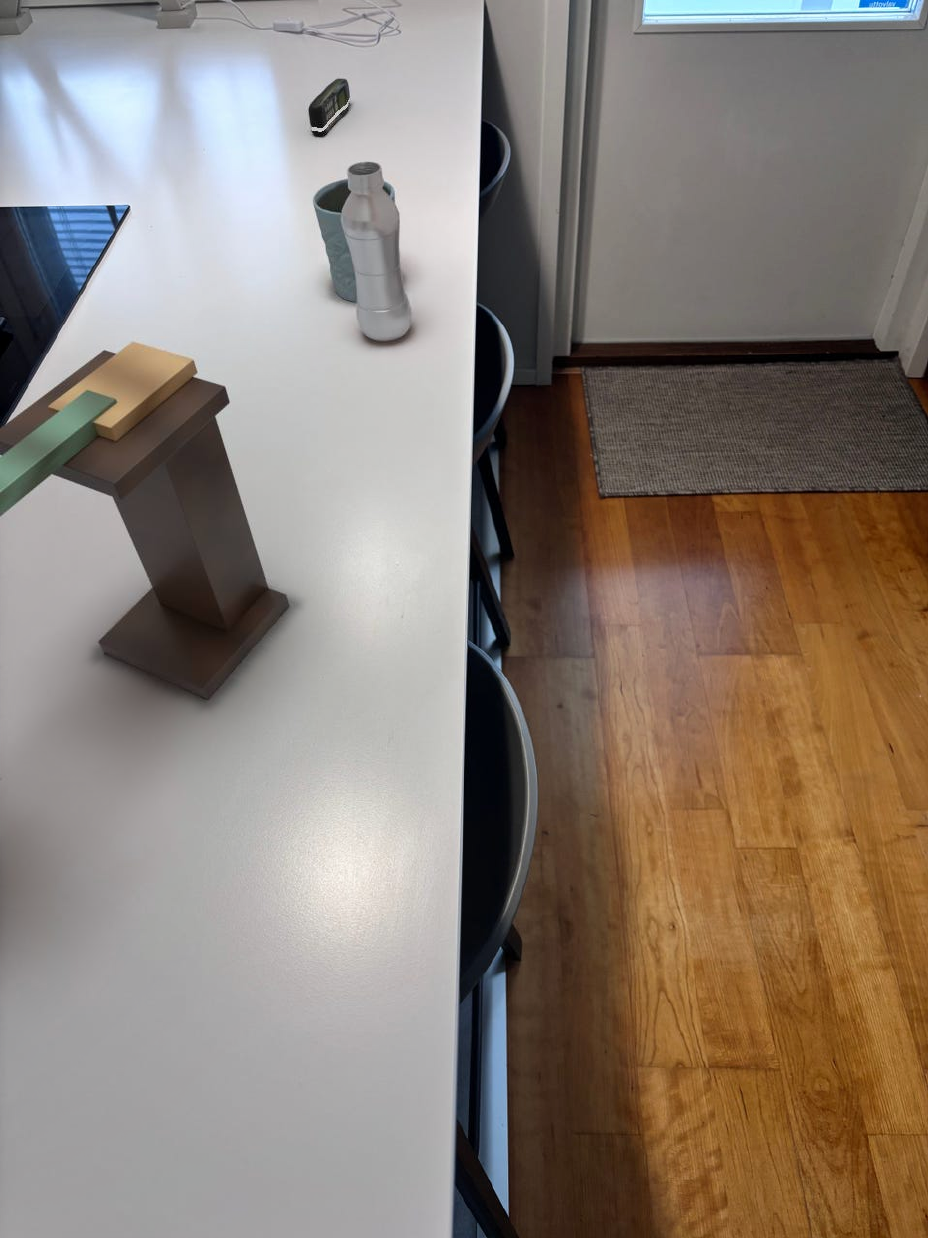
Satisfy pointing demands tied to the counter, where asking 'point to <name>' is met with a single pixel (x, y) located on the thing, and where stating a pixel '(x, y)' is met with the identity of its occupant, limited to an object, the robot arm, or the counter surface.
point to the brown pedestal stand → (175, 535)
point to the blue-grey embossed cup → (338, 235)
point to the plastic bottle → (375, 254)
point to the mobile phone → (329, 105)
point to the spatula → (93, 414)
